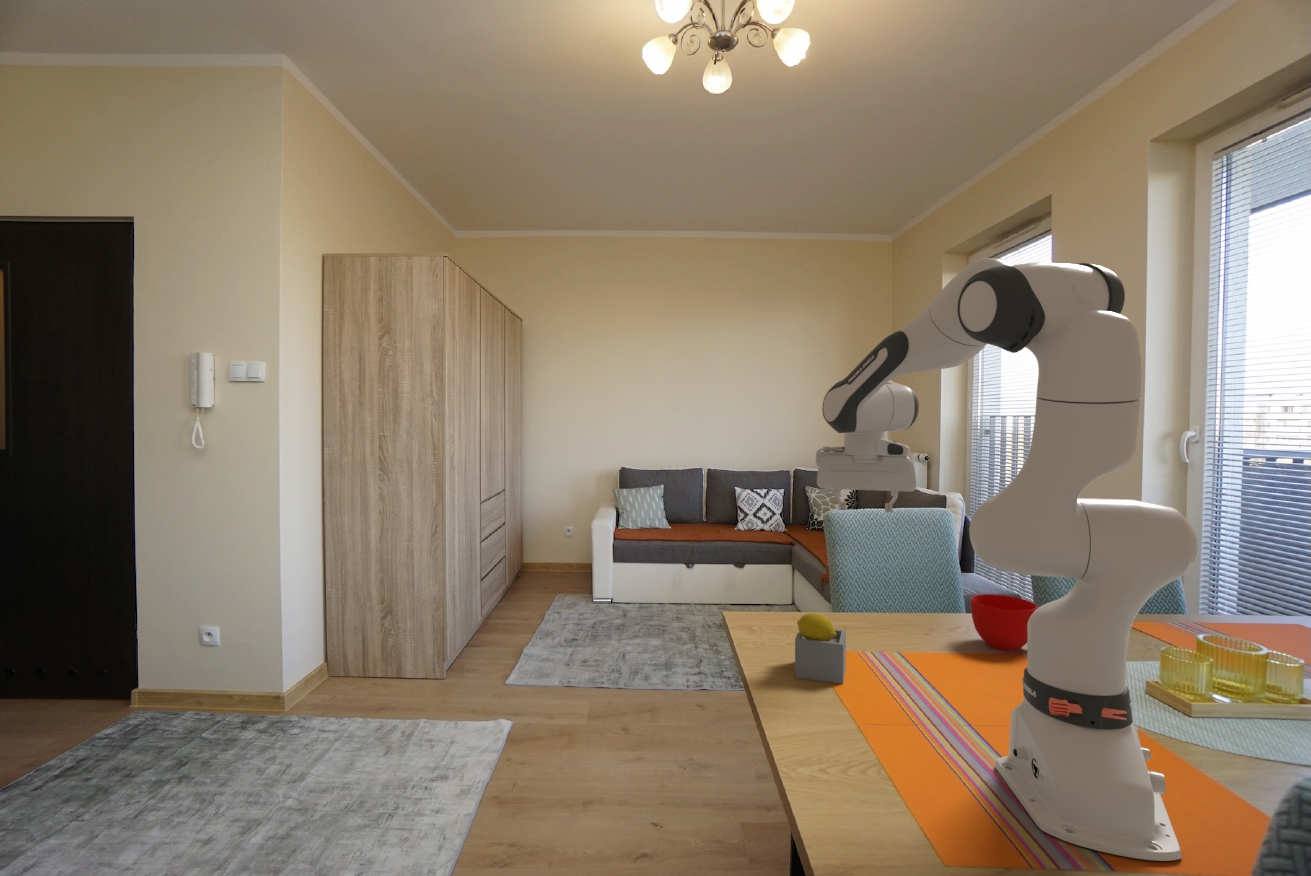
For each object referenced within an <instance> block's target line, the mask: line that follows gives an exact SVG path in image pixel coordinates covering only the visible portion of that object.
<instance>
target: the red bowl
mask: <svg viewBox="0 0 1311 876" xmlns="http://www.w3.org/2000/svg"><path fill="white" fill-rule="evenodd" d="M1036 609H1038V606H1037V604H1036V603H1035V602H1033V601H1029V600H1027V599H1024V598H1020V597H1016V596H1009V595H1003V594H976V595H974V596H972V597H971V598H970V610H971V611H970V612H971V618H972V622H973V625H974V628H975V631H976V632H977V634H978V636H979V637H980V638H981V639H982V641H983V642H984V643H985V644H986V645H987V647H990V648H992V649H993V650H994V649H995V650H997V651H998V650H999V651H1004V652H1018V651H1020V649H1022V648H1023V647H1024V646H1025V645H1027V641H1028V621H1029V618H1030V617H1031V615H1032V614H1033V612H1034V611H1035V610H1036Z"/></svg>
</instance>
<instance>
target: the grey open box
mask: <svg viewBox="0 0 1311 876" xmlns="http://www.w3.org/2000/svg"><path fill="white" fill-rule="evenodd" d="M834 630H835V632H836V637H834V638H832V639H831V640H830V641H829V642H827V641H819V640H810V639H806V638H804V637H803V636H802V635H801V633H800V631H799V630H798V631H797V634H796V636H795V639H794V678H797V679H805V680H812V681H818V682H826V683H831V684H832V683H833V684H839V685H844V680H845V673H846V666H847V665H846V661H847V660H846V658H847V657H846V655H847V654H846V653H847V651H846V647H847V646H846V645H847V642H846V641H847V639H846V638H847V637H846V636H847V631H846V630H845V629H836V628H834Z"/></svg>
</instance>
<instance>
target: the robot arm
mask: <svg viewBox="0 0 1311 876" xmlns="http://www.w3.org/2000/svg"><path fill="white" fill-rule="evenodd" d="M1125 292H1126V291H1125V288H1124V285H1123V282H1122V280H1121V279H1120V277H1119V276H1118V275H1117V273H1115V272H1114V271H1112V270H1111V269H1109V268H1106V267H1105V266H1103V265H1097V264H1092V263H1086V262H1081V263H1079V262H1078V263H1063V262H1062V263H1059V262H1057V263H1056V262H1049V261H1038V262H1036V261H1035V262H1028V263H1021V264H1020V263H1019V264H1013V265H1011V264H1010V263H1009V262H1007V261H1005V260H1003V259H999V258H993V257H984V258H980V259H977V260H976V259H975V260H974V261H972V262H971V263H968V265H966V266H965V267H964V268H962V270H961V271H959V273H957V274H956V275H955V276H954V277H953V278H951V280H950V281H949V282H948V283H947V284H945V286H944V287H943V288H942V289H941V290H940V292H939V293H938V294H937V295H936V297H935V298H934V299H933V300H932V302H931V303H930V304H929V305H928V306H927V307H926V308H925V310H924V311H922V312H921V313H920V314H919V315H918V316H917V317H915V318H914V319H913V320H911V321H910V322H908V324H905V326H903V327H901V328H900V329H899V330H897V331H895V332H893V333H891V334H890V335H888V336H886V337H885V338H884V339H882V340H881V342H879V343H878V344H877V345H876V346H875V347H874V348H873V349H872V350H871V351H870V352H869V353H868V354H867V355H866V356H865V357H864V358H863V359H862V360H861V362H860V363H858V364H857V365H856V367H854V368H853V369H852V371H851V372H850V373H849V374H848V375H847V376H845V378H843V379H841V380H839V381H837V382H836V383H834V384H833V385H832V386H831V387H830V388H829V389H828V391H827V393H826V394H825V396H824V398H823V401H822V410H821V411H822V416H823V418H824V420H825V422H826V423H827V425H829V426H830V428H832V429H833V430H834V431H835V432H836V433H839V434H844V435H843V437H844V438H843V440H844V441H843V444H844V445H843V446H823V447H822V448H819V449H818V450H817V451H816V453H815V462H816V465H817V466H818V469H817V474H816V475H817V476H816V485H817V487H818V488H819V489H827V490H829V489H830V490H833V496H834V497H835V499H836V501H837V503H838V511H846V510H847V501H843V500H842V498H841V497H840V494H841V493H842V490H852V491H853V490H856V491H879V492H880V491H882V492H883V491H884V492H885V491H886V492H890V496H891V500H890V501H889V502H887V503H886V502H885V503H884V507H885V508H884V513H893V505H894V504H895V502H896V501H897V499H898V497H899V492H909V493H911V492H914V491H915V490H916V489H917V474H916V468H915V464H914V462H913V461H912V459H911V457H909V455H910V454H911V453H910V452H911V448H910V447H909V445H907V444H904V443H900V442H898V441H897V440H889V438H888V435H889V434H888V432H901V431H906V430H908V429H910V428H911V427H912V426H913V425H914V423H915V422H916V420H917V418H918V415H919V410H920V409H919V408H920V406H919V399H918V396H917V394H916V392H915V391H914V389H912V387H910V385H909V386H908V385H906V384H905V385H904V384H902V383H898V382H896V381H895V382H894V380H893V379H896V378H897V377H901V376H903V375H905V376H906V375H909V374H912V373H913V374H914V373H919V372H920V373H921V372H926V371H935V370H936V371H937V370H945V369H951V368H954V367H958V366H960V365H962V364H964V363H966V362H967V361H969V360H971V359H972V358H974V357H975V356H976V355H978V354H979V353H981V351H982V350H983V349H984V348H985V347H986V346H987V345H991V346H995V347H998V348H1000V349H1002V350H1005V351H1006V352H1010V353H1013V354H1014V353H1015V354H1016V353H1019V352H1021V351H1022V350H1023V349H1025V348H1026V349H1028V350H1029V351H1030V352H1031V353H1032V354H1033V355H1034V357H1035V359H1036V361H1037V364H1038V365H1037V366H1038V367H1037V368H1038V375H1037V376H1038V378H1037V379H1038V380H1037V388H1036V397H1035V398H1036V400H1035V414H1034V423H1033V424H1034V425H1033V431H1032V436H1031V437H1032V438H1031V443H1030V449H1029V452H1028V455H1027V457H1026V459H1025V462H1024V464H1023V466H1022V468H1021V469H1020V470H1019V472H1018V473H1017V475H1016V476H1015V477H1014V478H1013V480H1011V481H1010V483H1009V484H1008V485H1006V486H1005V487H1004V488H1003V489H1002V490H1000V491H999V492H998V493H996V494H995V495H992V496H991V497H990V498H988V499H986V500H985V501H983V502H982V503H981V504H980V505H979V506H978V507H977V509H976V510H975V511H974V513H973V514H972V517H971V520H970V524H969V529H968V531H969V539H970V543H971V546H972V549H973V551H974V553H975V554H976V556H977V557H978V558H979V559H980V560H981V561H982V563H983V564H985V565H986V566H987V567H988V568H989V567H990V568H994V569H998V570H1000V571H1005V572H1010V573H1015V574H1019V575H1023V576H1036V577H1051V578H1067V579H1076V580H1075V583H1074V585H1073V586H1072V588H1071V590H1070V591H1068V592H1067V593H1066V594H1065V595H1064V596H1062V597H1060V598H1058V599H1055V600H1052V601H1050V602H1046V603H1043V604H1042V605H1040V606H1039V607H1037V609H1036V610H1035V611H1034V612H1033V614H1032V615H1031V617H1030V618H1029V621H1028V641H1027V643H1026V645H1027V646H1026V648H1027V653H1026V654H1027V655H1026V656H1027V658H1026V659H1027V660H1026V661H1027V662H1026V663H1027V665H1026V666H1027V667H1025V668H1024V670H1023V677H1022V687H1023V688H1022V690H1023V693H1022V694H1023V697H1024V698H1023V700H1022V701H1021V702H1020V703H1019V705H1017V706H1016V707H1014V709H1012V710H1011V711H1010V726H1009V741H1008V742H1009V744H1008V755H1007V756H1002V757H998V758H996V760H995V766H994V767H995V770H996V771H998V773H999V775H1000V776H1001V777H1002V779H1003V780H1004V782H1005V783H1006V785H1008V788H1010V790H1011V791H1012V793H1013V794H1014V795H1015V796H1016V798H1017V800H1018V801H1019V802H1020V803H1021V806H1022V807H1024V809H1025V810H1026V812H1027V813H1028V815H1029V816H1030V818H1031V819H1032V820H1033V822H1034V823H1035V825H1036V826H1037V827H1038V828H1039V829H1040V830H1041V831H1043V832H1044V833H1046V834H1048V835H1050V836H1053V837H1055V838H1058V839H1059V840H1061V841H1064V842H1068V843H1070V844H1074V845H1076V846H1079V847H1083V848H1087V849H1091V850H1094V851H1097V852H1101V853H1102V852H1103V853H1105V854H1111V855H1116V856H1121V857H1126V858H1131V859H1137V860H1145V861H1155V862H1156V861H1158V862H1159V861H1160V862H1166V861H1168V862H1169V861H1177V860H1180V859H1182V850H1181V846H1180V843H1179V841H1178V838H1177V836H1176V833H1175V829H1174V828H1173V825H1172V823H1171V822H1172V821H1171V820H1170V816H1169V814H1168V811H1167V808H1166V806H1165V804H1164V803H1165V802H1164V800H1163V797H1162V795H1163V794H1164V795H1165V794H1166V791H1167V787H1166V786H1167V785H1166V779H1165V775H1164V774H1163V773H1161V772H1158V771H1153V770H1148V766H1147V761H1151V760H1152V758H1151V757H1152V755H1151V754H1152V753H1151V750H1150V749H1149V748H1147V747H1142V745H1141V741H1140V737H1139V729H1138V727H1137V726H1136V725H1135V724H1134V719H1133V703H1132V701H1133V700H1132V699H1131V695H1130V694H1131V692H1130V689H1129V688H1128V686H1126V685H1127V684H1126V677H1127V676H1126V675H1127V659H1128V658H1127V657H1128V649H1129V648H1128V647H1129V639H1130V633H1131V629H1132V627H1133V624H1134V621H1135V620H1136V618H1137V616H1138V614H1139V613H1140V611H1141V609H1142V608H1143V607H1144V606H1145V604H1146V603H1147V602H1148V600H1149V599H1151V598H1152V597H1153V596H1154V595H1155V594H1156V593H1157V592H1158V591H1160V590H1161V589H1162V588H1165V586H1166V585H1168V584H1171V583H1173V582H1174V581H1176V580H1179V579H1181V577H1183V576H1184V575H1185V574H1186V573H1188V571H1189V570H1190V569H1191V568H1192V566H1193V565H1194V562H1195V560H1196V558H1197V553H1198V540H1197V535H1196V533H1195V530H1194V528H1193V526H1192V525H1191V523H1190V522H1189V520H1188V519H1187V518H1186V517H1185V516H1184V514H1182V513H1181V512H1180V511H1179V510H1178V509H1176V508H1174V507H1171V506H1167V505H1162V504H1157V503H1154V502H1149V501H1148V502H1147V501H1142V500H1138V499H1126V498H1100V497H1099V498H1098V497H1097V498H1094V497H1080V495H1081V493H1082V492H1083V491H1084V490H1085V488H1087V487H1088V486H1089V485H1091V483H1093V482H1094V481H1096V480H1098V479H1099V478H1102V477H1105V476H1107V475H1111V474H1112V473H1115V472H1118V471H1119V470H1121V469H1123V467H1125V466H1126V465H1127V464H1128V463H1129V462H1130V461H1131V459H1133V457H1134V455H1135V452H1136V447H1137V440H1138V439H1137V437H1138V427H1139V426H1138V425H1139V417H1140V405H1141V395H1142V357H1141V356H1142V355H1141V347H1140V340H1139V335H1138V331H1137V327H1136V325H1135V324H1134V322H1133V321H1132V320H1131V319H1130V318H1128V317H1126V316H1125V315H1122V314H1121V313H1122V311H1123V310H1124V309H1123V308H1124V305H1125V301H1126V300H1125V298H1126V295H1125V294H1126V293H1125ZM892 380H893V381H892ZM1161 794H1162V795H1161Z"/></svg>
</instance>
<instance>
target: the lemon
mask: <svg viewBox="0 0 1311 876" xmlns="http://www.w3.org/2000/svg"><path fill="white" fill-rule="evenodd" d="M796 624H797V627H798V631H800V633H801V635H802V636H803V637H804V638H806V639H810V640H819V641H827V642H829V641H830V640H831V639H832V638H834V637H836V632H835V630H834V629H835V627H834V624H833V622H832V621H831V620H830V619H829V618H828V617H826V616H825V615H822V614H818V613H806V614H804V615H802V616H801V617H800V619H798V620H797V622H796Z"/></svg>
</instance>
